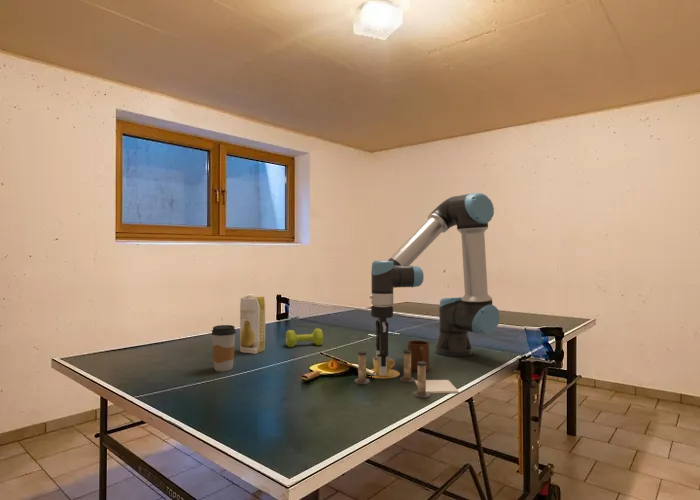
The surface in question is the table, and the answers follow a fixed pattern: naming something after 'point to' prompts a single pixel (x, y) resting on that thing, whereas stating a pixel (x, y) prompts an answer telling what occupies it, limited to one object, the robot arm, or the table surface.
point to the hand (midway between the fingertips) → (381, 372)
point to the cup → (390, 372)
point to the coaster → (439, 386)
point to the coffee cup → (223, 347)
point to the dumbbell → (304, 337)
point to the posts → (407, 377)
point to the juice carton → (252, 324)
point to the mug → (419, 353)
